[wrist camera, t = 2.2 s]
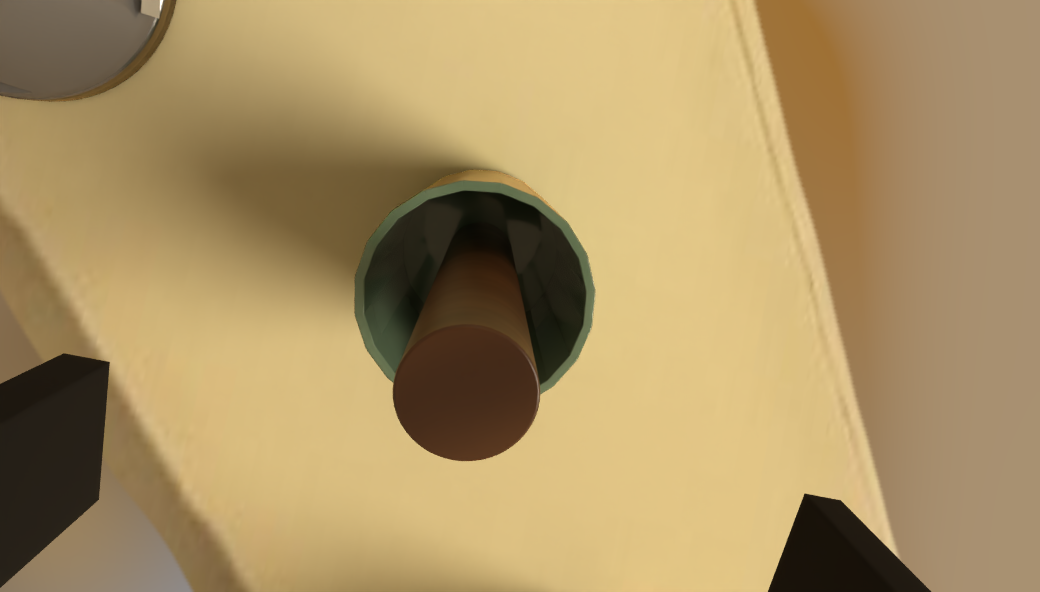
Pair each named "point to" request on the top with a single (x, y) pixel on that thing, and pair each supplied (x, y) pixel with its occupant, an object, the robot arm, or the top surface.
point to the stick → (470, 354)
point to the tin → (423, 244)
